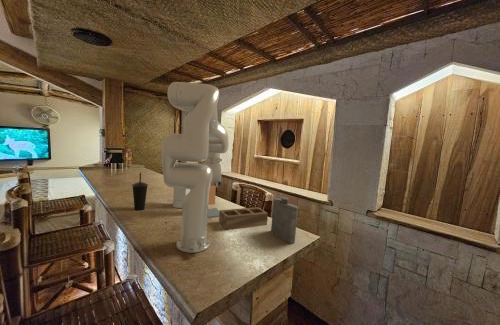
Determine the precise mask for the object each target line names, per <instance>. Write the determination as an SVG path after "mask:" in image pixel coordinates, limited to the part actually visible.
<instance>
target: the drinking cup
mask: <svg viewBox="0 0 500 325" xmlns="http://www.w3.org/2000/svg"><path fill="white" fill-rule="evenodd" d="M148 186H149V184H148V183H146V182H142V172H139V181H138V182H134V183H132V184H131V187H132V195H133V208H134V211H137V212H138V211H139V212H141V211H144V210H145V208H146V207H145V206H146V200H147V199H146V198H147V192H148Z"/></svg>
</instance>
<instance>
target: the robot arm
mask: <svg viewBox="0 0 500 325" xmlns="http://www.w3.org/2000/svg"><path fill="white" fill-rule="evenodd" d="M166 93H167V99H168V102H169V103H170V105H171V106H173V107H174V108H176V109H178V110H180V111H183V112H188V113H187V114H186V116H185V117H184V120H183V133H169V134H167V135H166V136H165V137H164V138H163V140H162V142H161V162H162V163H161V165H162V176H163V182H164V184H165V186H167V187H168V188H173V189H174V188H186V189H190V192H189V193H188V194H187V195H186V196H185V197H184V199H183V203H182V208H181V226H180V228H181V229H180V238H179V239H178V240H177V241H176V244H175V245H176V248H177V250H179V251H181V252H183V253H188V254H190V253H191V254H192V253H193V254H194V253H199V252H204V251H205V250H207V249H209V247H210V246H211V240H210V239H209V238H208V237H207V235H208V234H207V231H208V218H207V217H208V209H209V205H208V200H209V191H210V186H211V185H212V183H214V185H215V186H216V194H215V196H216V195H217V193H218V188H219V186H220V185H222V184H223V182H225V181H224V179H223V176H222V167H221V166H222V165H221V162H222V161H223V158H220V157H221V154H226V153H227V152H228V150H229V135H228V131H227V130H226V128H225V126H223V125H222V124H221V122H219V121H218V119H219V118H218V102H219V99H220V90H219V88H218V87H216V86H215V85H212V84H208V83H198V82H184V81H182V82H181V81H173V82H171V83H170V84H169V85H168V87H167V92H166ZM210 135H213V136H214V137H210ZM215 136H216V137H215ZM197 162H198V163H197ZM200 162H203V163H200Z"/></svg>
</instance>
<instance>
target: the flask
mask: <svg viewBox="0 0 500 325" xmlns="http://www.w3.org/2000/svg"><path fill="white" fill-rule="evenodd" d="M298 212H299V206H298V205H295V204H293V203H289V197H286V196H282V197H281V198H273V204H272V216H271V226H270V232H271V234H273V235H274V236H275V237H277V238H279V239H281V240H282V241H284V242H286V243H288V244H291V245H292V244H295V243H296V233H297V225H298V224H297V223H298V222H297V221H298V214H299V213H298Z"/></svg>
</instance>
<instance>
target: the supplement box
mask: <svg viewBox="0 0 500 325" xmlns="http://www.w3.org/2000/svg"><path fill="white" fill-rule="evenodd" d="M189 192H190V189H186V188H173V201H172V202H173V204H172V205H173V207H172V208H174V209H175V208H176V209H177V208H178V209H182V203H183V199H184V197H185V196H186V195H187V194H188V193H189Z"/></svg>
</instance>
